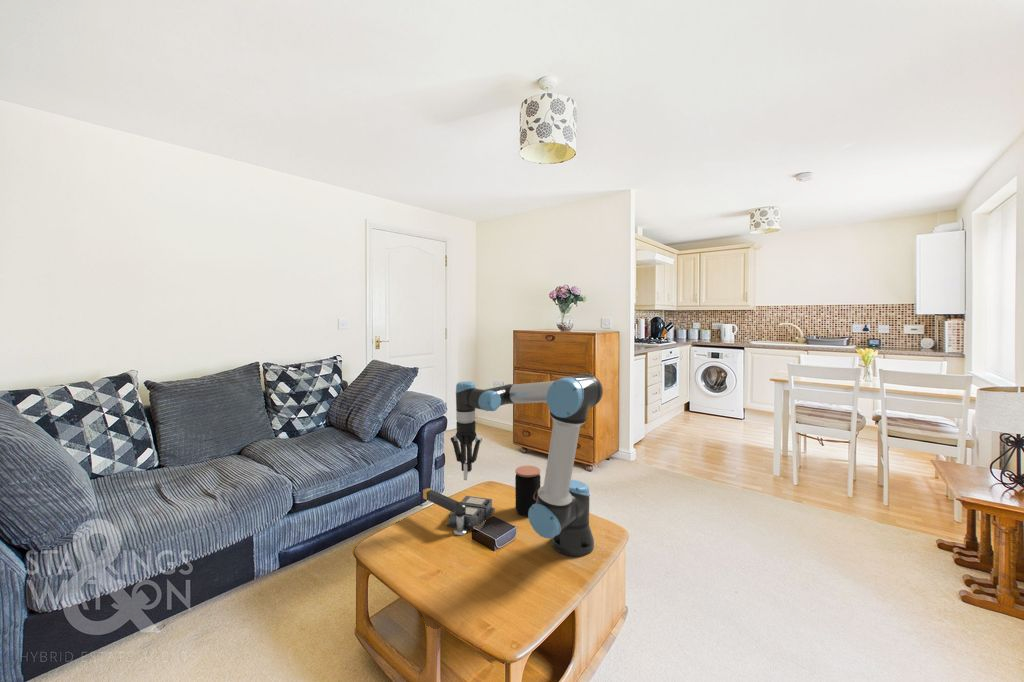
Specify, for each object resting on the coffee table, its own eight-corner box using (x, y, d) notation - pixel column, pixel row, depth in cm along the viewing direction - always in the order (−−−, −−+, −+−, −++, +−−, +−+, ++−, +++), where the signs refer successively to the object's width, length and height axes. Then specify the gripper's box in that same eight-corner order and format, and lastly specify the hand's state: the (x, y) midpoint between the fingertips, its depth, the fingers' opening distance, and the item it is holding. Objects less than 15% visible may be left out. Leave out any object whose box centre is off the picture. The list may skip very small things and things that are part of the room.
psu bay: (494, 510, 176) (494, 497, 175) (479, 531, 158) (479, 517, 158) (464, 506, 180) (464, 493, 179) (446, 526, 162) (446, 512, 162)
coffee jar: (537, 519, 168) (537, 476, 167) (512, 515, 171) (512, 473, 170) (542, 507, 178) (542, 466, 177) (519, 504, 181) (519, 464, 180)
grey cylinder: (468, 529, 160) (468, 512, 159) (463, 536, 155) (463, 518, 154) (457, 528, 161) (456, 510, 161) (451, 534, 156) (451, 516, 156)
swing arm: (468, 513, 158) (468, 504, 158) (459, 517, 154) (459, 508, 154) (430, 495, 173) (430, 487, 173) (421, 499, 170) (421, 490, 170)
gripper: (484, 419, 164) (485, 477, 165) (454, 417, 167) (455, 473, 169) (477, 424, 157) (478, 484, 158) (446, 422, 160) (447, 480, 162)
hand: (466, 478), depth 164 cm, fingers closed
